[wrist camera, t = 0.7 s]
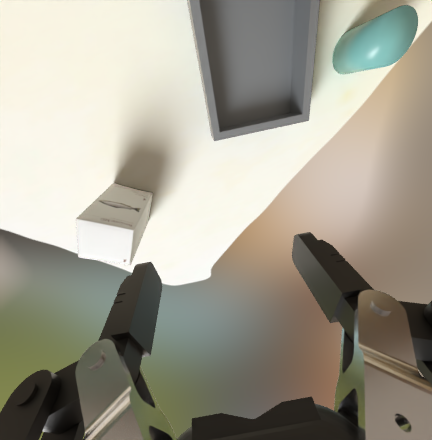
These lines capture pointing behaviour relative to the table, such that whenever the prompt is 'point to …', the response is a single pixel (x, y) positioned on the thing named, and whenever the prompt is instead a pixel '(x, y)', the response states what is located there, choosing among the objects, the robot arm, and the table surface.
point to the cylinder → (376, 41)
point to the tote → (255, 62)
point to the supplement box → (114, 225)
